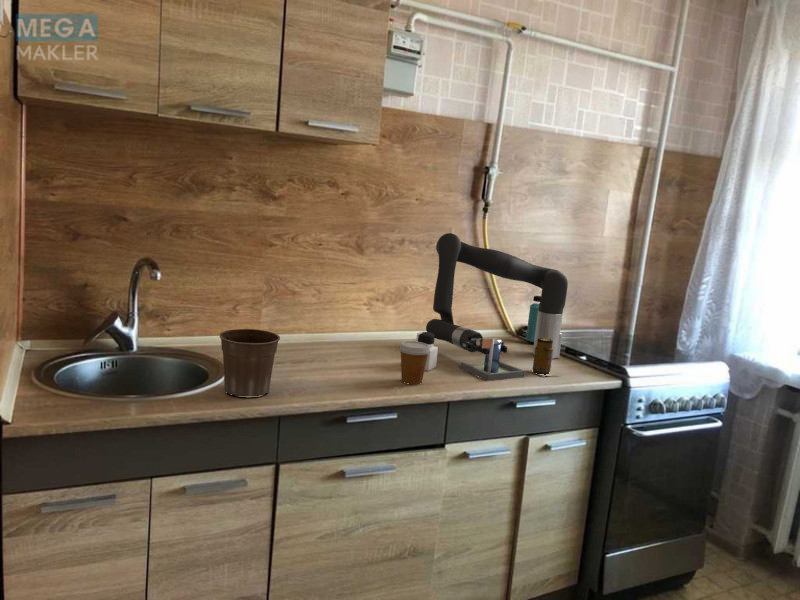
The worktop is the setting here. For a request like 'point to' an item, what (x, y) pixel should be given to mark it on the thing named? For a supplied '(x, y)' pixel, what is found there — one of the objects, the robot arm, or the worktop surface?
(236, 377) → the plant pot
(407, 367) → the disposable coffee cup
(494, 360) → the navy canister
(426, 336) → the medicine bottle
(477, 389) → the worktop surface
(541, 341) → the condiment
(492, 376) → the green tray
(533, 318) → the beverage bottle
